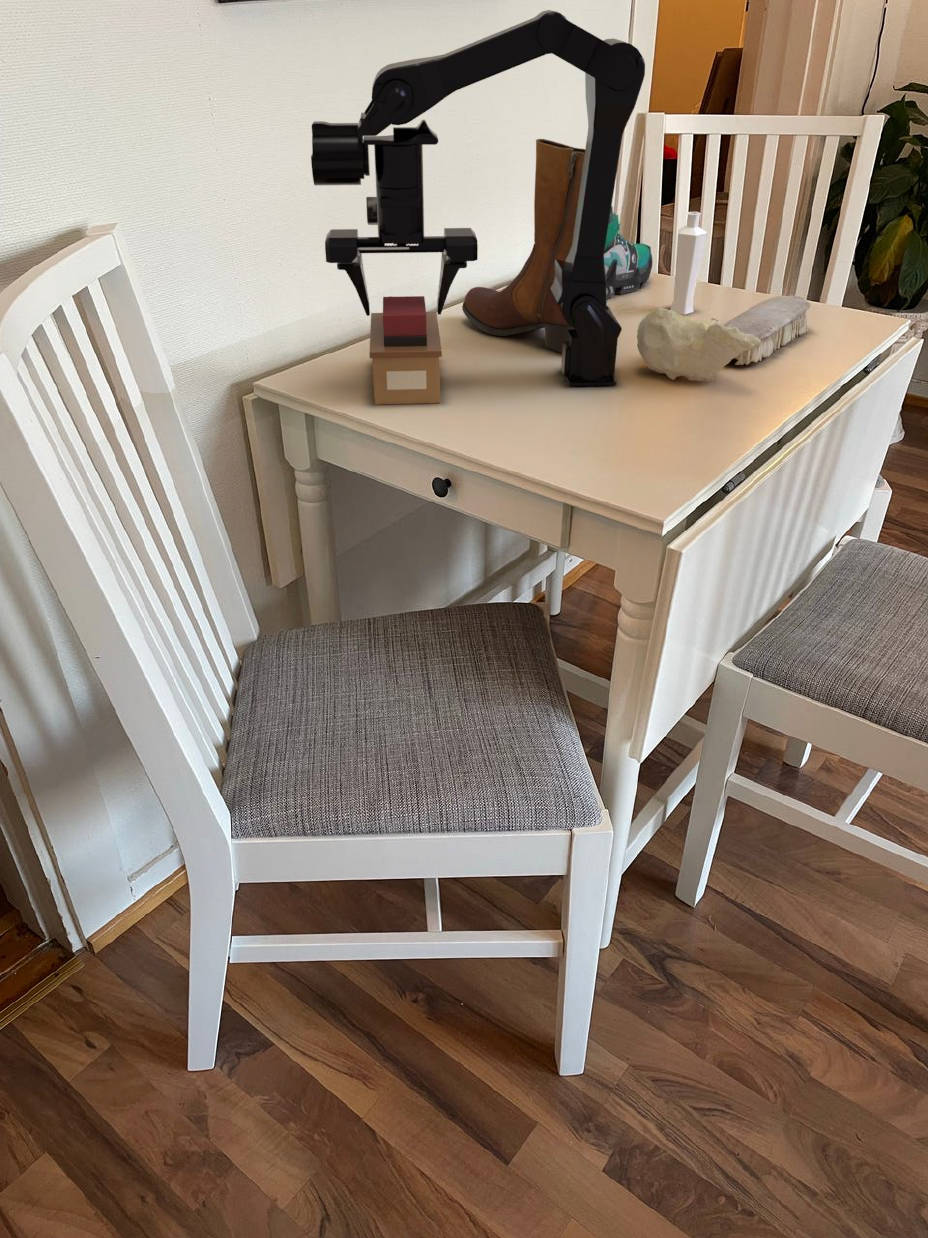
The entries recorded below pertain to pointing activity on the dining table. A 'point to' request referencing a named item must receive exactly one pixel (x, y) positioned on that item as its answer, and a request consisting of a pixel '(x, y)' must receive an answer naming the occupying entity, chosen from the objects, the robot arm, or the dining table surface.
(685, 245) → the perfume bottle
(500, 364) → the dining table surface
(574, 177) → the boot
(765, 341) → the shoe brush
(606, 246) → the sneaker
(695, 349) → the beige lumpy irregular piece
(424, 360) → the shoebox
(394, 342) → the dark red two-tone block
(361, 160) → the robot arm
